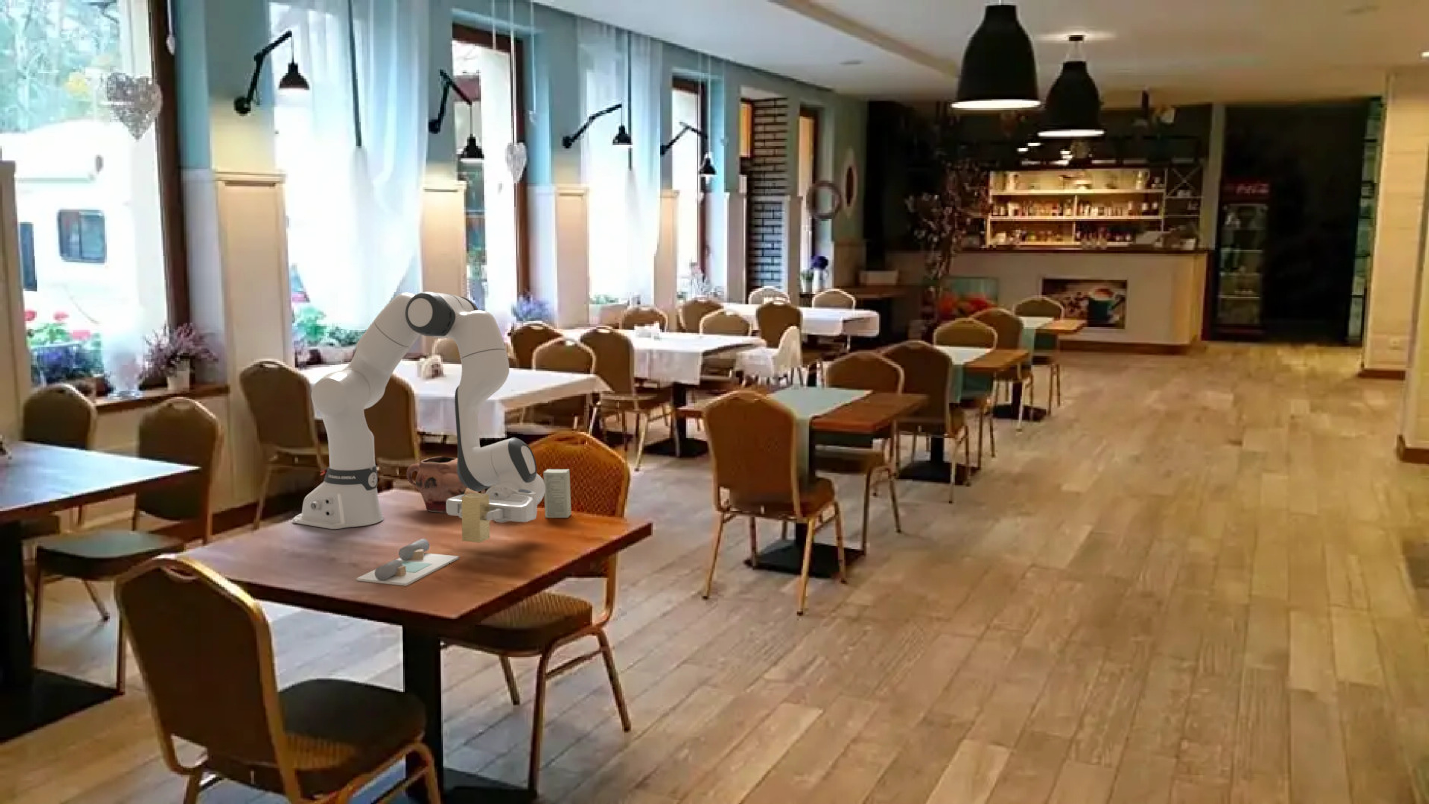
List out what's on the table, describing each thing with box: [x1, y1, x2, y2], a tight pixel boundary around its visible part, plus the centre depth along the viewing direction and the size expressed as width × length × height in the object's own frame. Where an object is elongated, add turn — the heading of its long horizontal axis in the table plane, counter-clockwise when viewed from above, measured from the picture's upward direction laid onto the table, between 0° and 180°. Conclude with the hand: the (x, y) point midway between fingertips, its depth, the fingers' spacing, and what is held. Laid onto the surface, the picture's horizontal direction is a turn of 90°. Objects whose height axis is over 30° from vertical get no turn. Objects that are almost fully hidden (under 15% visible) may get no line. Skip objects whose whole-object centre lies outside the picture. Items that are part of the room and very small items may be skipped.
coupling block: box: [461, 492, 491, 543], centre depth 262 cm, size 4×4×10 cm
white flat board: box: [356, 538, 460, 586], centre depth 258 cm, size 23×12×4 cm, turn 163°
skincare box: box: [542, 468, 572, 519], centre depth 306 cm, size 6×4×12 cm
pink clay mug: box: [405, 456, 468, 513], centre depth 313 cm, size 20×12×14 cm, turn 75°
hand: (473, 515), depth 261 cm, fingers closed on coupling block, 4 cm apart
